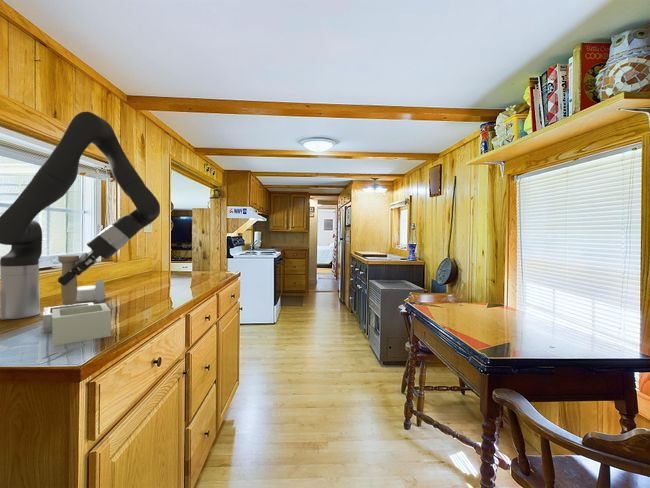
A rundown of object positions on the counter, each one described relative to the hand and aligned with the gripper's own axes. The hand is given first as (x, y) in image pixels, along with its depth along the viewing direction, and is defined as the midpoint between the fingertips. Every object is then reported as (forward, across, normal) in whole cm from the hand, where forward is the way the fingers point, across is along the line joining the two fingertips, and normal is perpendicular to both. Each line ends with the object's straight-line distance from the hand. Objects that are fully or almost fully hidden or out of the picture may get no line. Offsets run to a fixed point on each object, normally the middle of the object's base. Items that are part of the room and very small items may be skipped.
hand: (60, 282), depth 94 cm
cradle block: (+6, +15, +12) cm, 20 cm away
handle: (+4, 0, +6) cm, 7 cm away
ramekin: (+3, -41, +16) cm, 44 cm away
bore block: (+8, 0, +11) cm, 13 cm away
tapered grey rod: (+2, -18, +18) cm, 26 cm away
